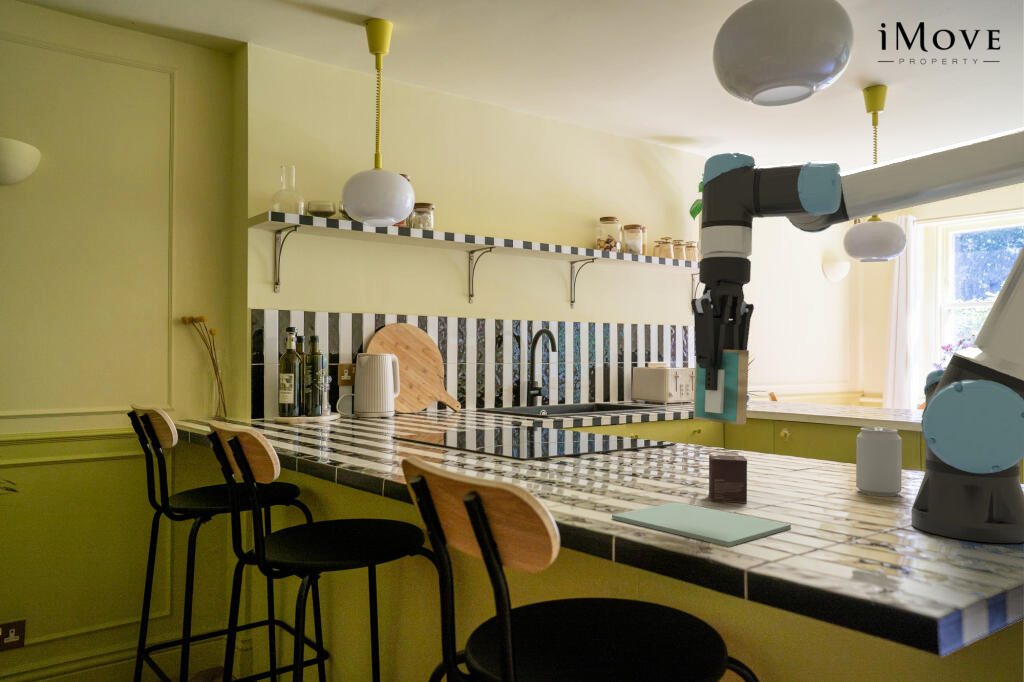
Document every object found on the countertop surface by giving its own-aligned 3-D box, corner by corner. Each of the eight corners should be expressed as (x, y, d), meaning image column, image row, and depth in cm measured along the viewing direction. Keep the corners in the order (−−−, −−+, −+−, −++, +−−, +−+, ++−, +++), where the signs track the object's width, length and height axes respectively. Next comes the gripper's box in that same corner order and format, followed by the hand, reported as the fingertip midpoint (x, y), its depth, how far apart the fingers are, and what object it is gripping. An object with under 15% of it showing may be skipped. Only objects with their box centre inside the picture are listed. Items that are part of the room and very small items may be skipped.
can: (857, 495, 133) (857, 428, 133) (854, 488, 140) (855, 425, 140) (903, 498, 130) (904, 431, 130) (899, 491, 137) (899, 427, 137)
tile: (746, 424, 109) (748, 350, 109) (737, 424, 108) (740, 350, 108) (701, 418, 115) (703, 348, 115) (692, 419, 114) (695, 348, 114)
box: (747, 503, 123) (747, 460, 123) (710, 501, 125) (711, 458, 125) (743, 497, 129) (743, 455, 129) (708, 495, 131) (708, 454, 131)
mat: (790, 528, 106) (790, 524, 106) (729, 546, 95) (729, 541, 95) (676, 505, 121) (676, 501, 121) (611, 518, 110) (611, 514, 110)
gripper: (732, 264, 119) (726, 408, 119) (674, 254, 109) (668, 411, 109) (774, 261, 113) (768, 413, 113) (717, 250, 104) (710, 416, 104)
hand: (719, 411), depth 111 cm, fingers closed on tile, 2 cm apart
